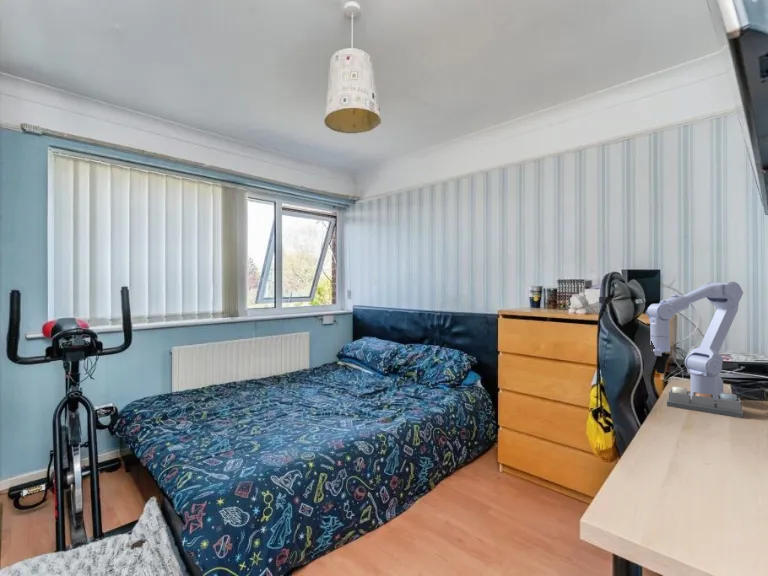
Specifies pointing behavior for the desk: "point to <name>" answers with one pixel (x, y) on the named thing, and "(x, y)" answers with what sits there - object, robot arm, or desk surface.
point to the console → (705, 404)
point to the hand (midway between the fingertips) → (660, 373)
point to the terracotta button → (703, 394)
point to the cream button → (679, 390)
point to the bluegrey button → (728, 396)
